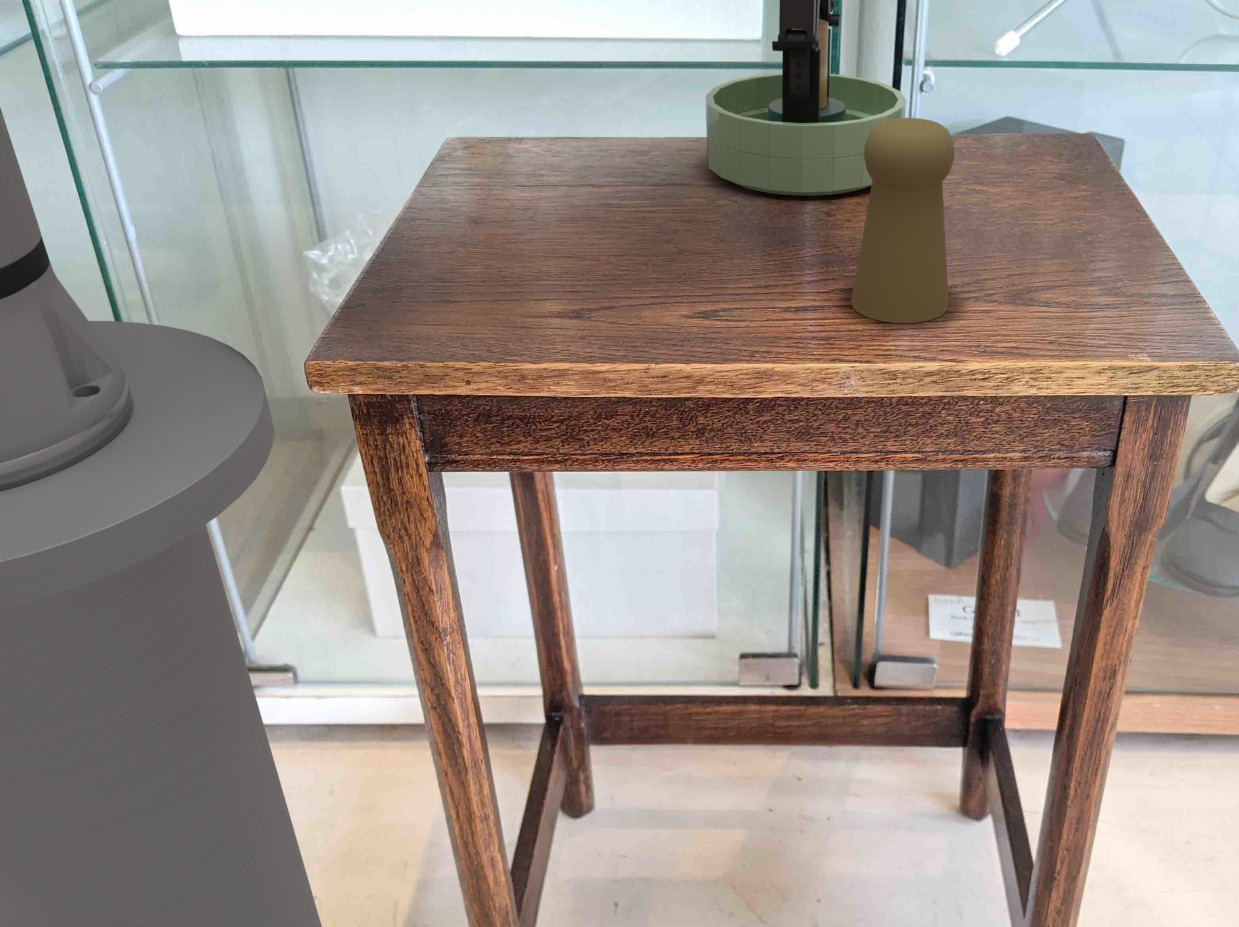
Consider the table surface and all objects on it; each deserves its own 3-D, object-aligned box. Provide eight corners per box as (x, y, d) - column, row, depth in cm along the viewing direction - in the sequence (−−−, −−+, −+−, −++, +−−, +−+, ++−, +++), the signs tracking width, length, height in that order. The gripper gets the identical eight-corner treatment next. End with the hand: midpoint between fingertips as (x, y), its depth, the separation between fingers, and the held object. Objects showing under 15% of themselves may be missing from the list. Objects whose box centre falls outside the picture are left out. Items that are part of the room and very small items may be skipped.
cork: (864, 327, 78) (873, 140, 71) (840, 288, 83) (846, 111, 76) (961, 319, 79) (978, 134, 72) (932, 282, 84) (945, 105, 77)
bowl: (798, 215, 94) (799, 137, 91) (669, 166, 103) (666, 94, 100) (940, 172, 102) (946, 100, 99) (808, 130, 112) (810, 63, 109)
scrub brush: (804, 161, 98) (806, 35, 93) (752, 144, 102) (751, 22, 97) (860, 146, 102) (865, 23, 96) (808, 129, 105) (810, 10, 100)
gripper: (853, -210, 80) (841, 167, 93) (877, -229, 95) (864, 97, 108) (732, -212, 81) (738, 162, 94) (776, -229, 96) (775, 94, 109)
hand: (806, 127), depth 101 cm, fingers closed on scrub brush, 6 cm apart
